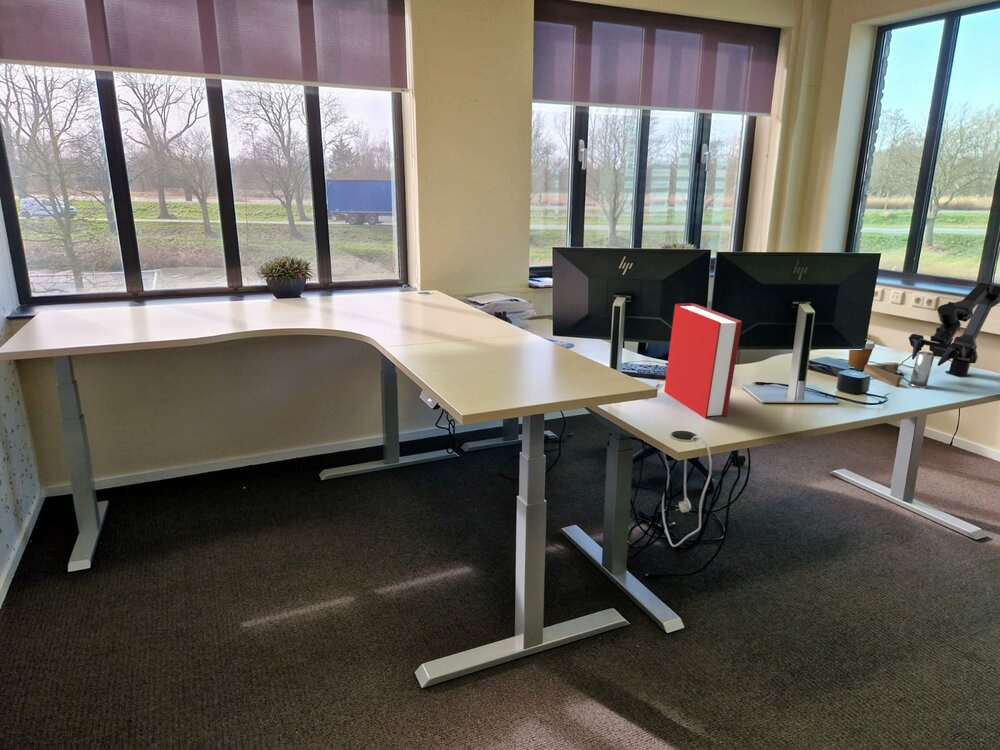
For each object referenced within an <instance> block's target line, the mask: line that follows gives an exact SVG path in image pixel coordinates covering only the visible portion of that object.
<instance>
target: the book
mask: <svg viewBox="0 0 1000 750" xmlns="http://www.w3.org/2000/svg"><path fill="white" fill-rule="evenodd" d="M742 324H743V321H742V320H739V319H737V318H734V317H731V316H729V315H726V314H724V313H720V312H718V311H715V310H713V309H710V308H708V307H705V306H702V305H699V304H696V303H690V302H688V303H685V302H684V303H675V305H674V311H673V319H672V325H671V326H672V327H671V335H670V342H669V348H668V349H669V350H668V351H669V352H668V359H667V367H666V374H665V375H666V376H665V381H664V382H665V383H664V390H663V391H664V393H665V394H667V395H668V396H669V397H672V398H673V399H674V400H676V401H677V402H679V403H680V404H682V405H683V406H685V407H686V408H688V409H689V410H691V411H692V412H693V413H695V414H697V415H699V416H700V417H701V418H704V419H706V418H707V417H710V416H711V417H712V416H723V417H725V418H727V416H728V410H729V404H730V399H731V398H730V397H731V392H732V385H733V380H734V372H735V367H736V360H737V355H738V348H739V343H740V342H739V341H740V336H741V330H742Z"/></svg>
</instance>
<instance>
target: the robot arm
mask: <svg viewBox="0 0 1000 750" xmlns="http://www.w3.org/2000/svg"><path fill="white" fill-rule="evenodd" d="M998 304H1000V285H997V284H995V285H994V284H993V283H990V282H985V281H977V282H976V285H975V286H974V288H972V290H971V291H970V292H969V293H968V294H967V295H966V296H965V297H964V298H963V299H961V300H959V301H955V302H954V301H953V302H952V301H948V303H943V304H941V305H940V306H938V307H937V315H938V318H939V319H938V320H939V322H940V323H941V324H940V326H939V327H936V329H935V330H936V331H935V333H934V335H931V336H930V337H929V338H930V340H929V339H926V338H924V335H923V334H919V333H918V334H917V333H912V334H910V335H909V336H908V340H909V341H908V342H909V344H910V346H911V347H912V348H913V349H912V355H911V359H912V360H915V359H916V357H917V353H918V352H921V351H922V348H924V346H929V348H928V349H929V351H930V352H931V354H934V355H935V356H934V357H938V358H939V360H938V362H937V367H940V366H941V365H943V364H944V363H946V362H948V361H949V360H951V363H950V366H949V370H946V371H945V372H944V373H947V374H950V375H953V376H956V377H958V376H959V377H960V378H962V376H964V377H971V376H972V374H969V369H970V366H971V364H976V362H978V361H977V360H978V358H979V357H978V353H977V349H978V346H977V345H978V344H977V342H976V339H977V338H978V336H979V333H980V331H981V330H982V327H983V326H984V324H985V322H986V319H987V317H988V315H989V313H990V311H991V310H992V308H993V307H995V306H997V305H998ZM961 322H968V323H967V325H966V326H965V329H964V331H963V333H962V334H961V335H960V336H956V337H955V335H956V334H957V332H959V331H960V330H961V326H962V324H961ZM954 337H955V338H954ZM953 338H954V339H953Z"/></svg>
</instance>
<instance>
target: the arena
mask: <svg viewBox="0 0 1000 750" xmlns="http://www.w3.org/2000/svg"><path fill="white" fill-rule="evenodd" d="M899 366H900V364H899V363H880V364H877V363H876V364H869V363H867V365H865V368H864V371H863V372H864V373H866V374H869V375H871V376H872V377H871V378H873V379H876V380H877V381H881V382H883V383H885V384H888V385H890V386H893V387H895V388H897V387H900V384H901V380H902V376H900V375H898V369H899ZM893 373H897V374H893Z"/></svg>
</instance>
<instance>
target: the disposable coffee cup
mask: <svg viewBox="0 0 1000 750" xmlns="http://www.w3.org/2000/svg"><path fill="white" fill-rule="evenodd" d="M866 340H867V342H866V347H865V349H862V350H848V365H849V366H851V367H854V368H859V369H862V370H863V371H862V372H864V368H865V365H867V364H869V361H870V357H871V355H872V352H873V350H874V348H875V347H876V345H875V342H874V341H873V340H868V339H866ZM848 365H847V366H848Z"/></svg>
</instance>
